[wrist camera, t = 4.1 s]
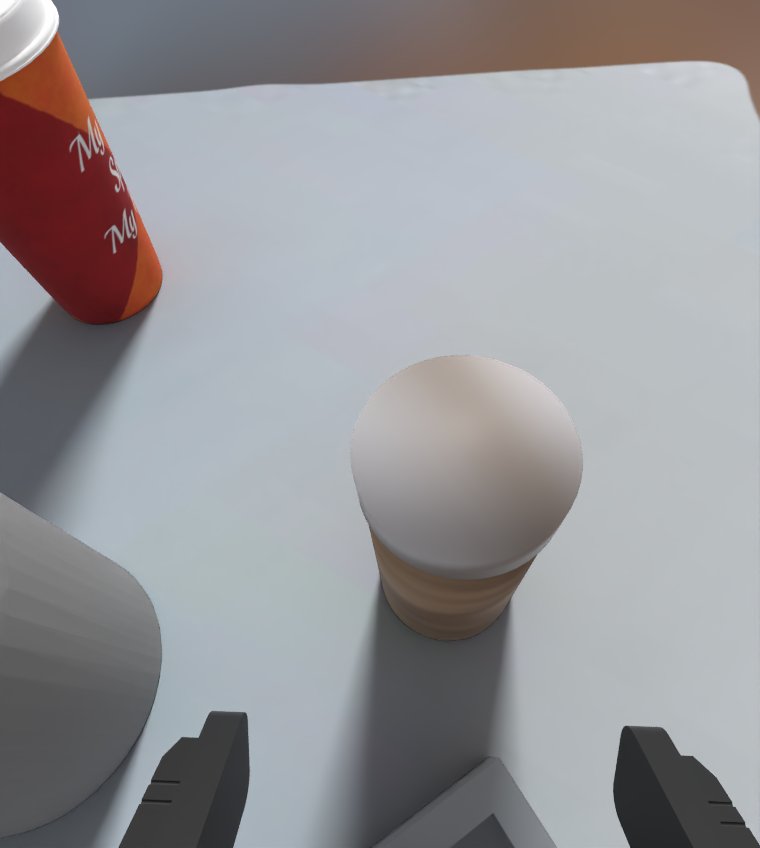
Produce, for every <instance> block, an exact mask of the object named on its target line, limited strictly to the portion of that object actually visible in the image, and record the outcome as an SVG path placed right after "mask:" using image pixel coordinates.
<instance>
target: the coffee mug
mask: <svg viewBox="0 0 760 848" xmlns="http://www.w3.org/2000/svg"><path fill="white" fill-rule="evenodd" d="M161 661H162V647H161V635H160V627H159V624H158V620H157V617H156V614H155V610H154V607H153V605H152V603H151V601H150V598H149V597H148V595H147V594H146V592H145V591H144V589H143V588H142V586H141V585H140V584H139V582H138V581H137V580H136V579H135V578H134V577H133V576H132V575H131V574H130V573H129V572H128V571H127V570H125V569H124V568H123V567H121V566H120V565H118V564H117V563H115V562H113V561H112V560H110V559H108V558H107V557H105V556H104V555H102V554H100V553H99V552H97V551H95V550H94V549H92V548H90V547H89V546H87V545H85V544H84V543H82V542H81V541H79V540H77V539H76V538H74V537H72V536H71V535H69V534H67V533H66V532H64V531H63V530H61V529H59V528H58V527H56V526H54V525H53V524H51V523H49V522H48V521H46V520H44V519H43V518H41V517H40V516H38V515H36V514H35V513H33V512H31V511H30V510H28V509H26V508H25V507H23V506H22V505H20V504H18V503H17V502H15V501H13V500H12V499H10V498H8V497H7V496H5V495H3V494H2V493H0V838H2V837H7V836H11V835H16V834H20V833H23V832H27V831H30V830H33V829H36V828H39V827H41V826H43V825H46V824H48V823H50V822H52V821H54V820H56V819H58V818H60V817H62V816H64V815H65V814H67V813H68V812H69V811H71V810H72V809H74V808H75V807H77V806H78V805H79V804H81V803H82V802H83V801H85V800H86V799H87V798H88V797H90V796H91V795H92V794H93V793H94V792H96V791H97V790H98V789H99V788H100V787H101V786H102V785H103V783H104V782H105V781H106V780H107V779H108V778H109V777H110V776H111V775H112V774H113V773H114V772H115V771H116V769H117V768H118V767H119V765H120V764H121V763H122V762H123V760H124V759H125V757H126V756H127V754H128V753H129V751H130V750H131V748H132V746H133V745H134V743H135V741H136V740H137V738H138V737H139V735H140V733H141V731H142V729H143V727H144V725H145V723H146V720H147V718H148V716H149V713H150V710H151V708H152V705H153V702H154V699H155V695H156V690H157V686H158V681H159V676H160V669H161Z"/></svg>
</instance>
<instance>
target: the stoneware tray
mask: <svg viewBox="0 0 760 848" xmlns="http://www.w3.org/2000/svg"><path fill="white" fill-rule="evenodd" d="M371 848H557V847H556V845H555V844H554V842H553V840H552V839H551V837H550V836H549V834H548V833H547V831H546V830H545V828H544V826H543V825H542V823H541V822H540V820H539V819H538V817H537V816H536V814H535V813H534V811H533V809H532V808H531V806H530V805H529V803H528V802H527V800H526V799H525V797H524V795H523V794H522V792H521V791H520V789H519V788H518V786H517V785H516V783H515V781H514V780H513V778H512V777H511V775H510V774H509V772H508V771H507V769H506V767H505V766H504V764H503V763H502V761H501V760H500V758H497V757H488V758H486V759H485V760H484V761H483V762H481V763H480V764H479V765H477V766H476V767H475V768H473V769H472V770H471V771H470V772H468V773H467V774H466V775H464V776H463V777H462V778H460V779H459V780H458V781H457V782H455V783H454V784H453V785H451V786H450V787H449V788H448V789H446V790H445V791H444V792H442V793H441V794H440V795H438V796H437V797H436V798H435V799H433V800H432V801H431V802H429V803H428V804H427V805H426V806H424V807H423V808H422V809H420V810H419V811H418V812H416V813H415V814H414V815H413V816H411V817H410V818H409V819H407V820H406V821H405V822H404V823H402V824H401V825H400V826H398V827H397V828H396V829H394V830H393V831H392V832H391V833H389V834H388V835H387V836H385V837H384V838H383V839H381V840H380V841H379V842H378V843H376V844H375V845H374V846H372V847H371Z"/></svg>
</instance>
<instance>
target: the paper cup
mask: <svg viewBox="0 0 760 848" xmlns="http://www.w3.org/2000/svg"><path fill="white" fill-rule="evenodd" d="M58 25H59V15H58V12H57V9H56V7H55V6H54V4H53V3H52V1H51V0H0V242H1V243H2V244H3V245H4V246H5V248H6V249H7V250H8V251H9V252H10V253H11V254H12V255H13V256H14V257H15V258H16V259H17V260H18V261H19V262H20V264H21V265H22V266H23V267H24V268H25V269H26V270H27V271H28V272H29V273H30V274H31V275H32V276H33V277H34V278H35V279H36V281H37V282H38V283H39V284H40V285H41V286H42V287H43V288H44V289H45V290H46V291H47V292H48V293H49V294H50V295H51V296H52V297H53V298H54V299H55V300H56V301H57V302H58V303H59V304H60V305H61V306H62V307H63V308H64V309H65V310H66V311H67V312H68V313H69V314H70V315H71V316H73V317H74V318H76V319H77V320H79V321H82V322H85V323H89V324H110V323H115V322H119V321H122V320H124V319H127V318H129V317H131V316H133V315H135V314H137V313H138V312H140V311H141V310H143V309H144V308H145V307H146V306H147V305H148V304H149V303H150V302H151V301H152V300H153V299H154V298H155V296H156V295H157V293H158V291H159V289H160V287H161V284H162V269H161V266H160V263H159V260H158V258H157V255H156V253H155V250H154V248H153V245H152V243H151V241H150V238H149V236H148V234H147V231H146V229H145V227H144V225H143V222H142V220H141V218H140V215H139V213H138V211H137V209H136V206H135V204H134V202H133V200H132V197H131V195H130V193H129V191H128V188H127V186H126V184H125V182H124V179H123V177H122V175H121V173H120V170H119V168H118V166H117V164H116V161H115V159H114V157H113V155H112V152H111V150H110V148H109V146H108V143H107V141H106V139H105V137H104V134H103V132H102V130H101V128H100V126H99V123H98V121H97V119H96V117H95V114H94V112H93V110H92V108H91V105H90V103H89V101H88V99H87V97H86V94H85V92H84V90H83V88H82V86H81V83H80V81H79V79H78V76H77V74H76V72H75V70H74V68H73V65H72V63H71V61H70V59H69V56H68V54H67V52H66V50H65V47H64V45H63V43H62V41H61V38H60V36H59V34H58V32H57V28H58Z"/></svg>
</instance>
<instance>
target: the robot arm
mask: <svg viewBox="0 0 760 848" xmlns="http://www.w3.org/2000/svg"><path fill="white" fill-rule="evenodd" d="M249 773H250V769H249V742H248V719H247V714H246V713H245V712H222V711H211V712H210V713H209V715H208V717H207V719H206V722H205V724H204V726H203V729H202V731H201V734H200V736H199V738H188V737H182V738H181V739H180V740H179V741H178V742H177V743H176V744H175V745H174V746H173V747H172V748H171V749H170V750H169V751H168V752H167V753H166V754H165V755H164V756H163V757H162V759H161V761H160V763H159V765H158V767H157V769H156V771H155V773H154V775H153V777H152V779H151V784H150V785H149V786H148V788H147V790H146V792H145V794H144V796H143V798H142V802H141V804H139V806H138V808H137V810H136V813H135V815H134V817H133V819H132V821H131V823H130V825H129V827H128V829H127V831H126V833H125V835H124V837H123V839H122V842H121V844H120V846H119V848H233V846H234V843H235V839H236V835H237V832H238V828H239V825H240V821H241V818H242V814H243V811H244V807H245V803H246V799H247V793H248V786H249ZM613 793H614V802H615V808H616V812H617V815H618V818H619V821H620V824H621V826H622V828H623V831H624V833H625V836H626V838H627V841H628V843H629V845H630V848H760V845H759V843H758V842H757V840H756V839H755V837H754V836H753V834H752V832H751V831H750V829H749V828H746V826H745V822H744V820H743V818H742V817H741V815H740V814H739V812H738V811H737V809H736V807H733V805H732V801H731V800H730V798H729V797H728V795H727V793H726V792H725V790H724V789H723V787H722V786H721V784H720V782H719V781H718V779H717V778H716V777H715V776H714V775H713V774H712V773H711V772H710V771H709V770H707V769H706V768H705V767H704V766H703V765H702V764H701V763H700V762H699V761H698V760H696V759H695V758H694V757H693V756H681V755H680V754H679V752H678V750H677V749H676V747H675V745H674V744H673V742H672V740H671V739H670V737H669V735H668V734H667V732H666V731H665V730H664V729H663V728H661V727H641V726H625V727H624V728H623V729H622V732H621V738H620V744H619V751H618V758H617V764H616V771H615V777H614V785H613Z"/></svg>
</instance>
